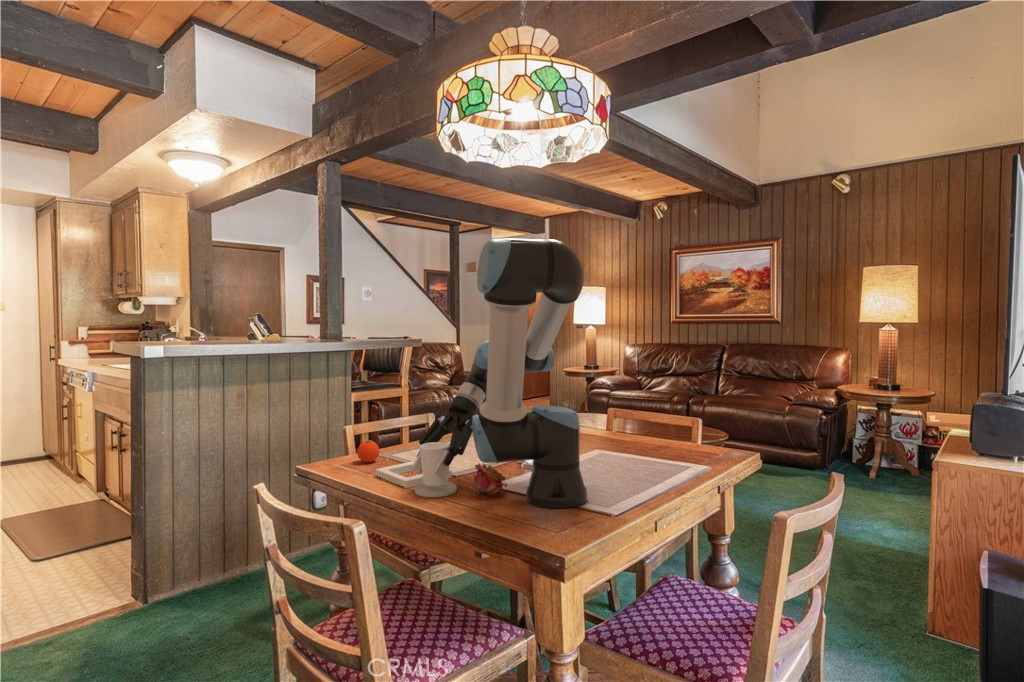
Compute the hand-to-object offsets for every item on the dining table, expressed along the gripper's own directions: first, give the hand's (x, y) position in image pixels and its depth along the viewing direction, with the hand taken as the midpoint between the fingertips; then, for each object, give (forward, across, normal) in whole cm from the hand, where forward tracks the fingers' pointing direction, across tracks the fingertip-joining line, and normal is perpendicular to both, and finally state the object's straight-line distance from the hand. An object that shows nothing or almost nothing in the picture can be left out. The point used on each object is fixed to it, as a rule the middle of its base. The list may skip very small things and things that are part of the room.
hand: (425, 472), depth 144 cm
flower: (-3, -14, -11) cm, 18 cm away
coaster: (+2, 0, -6) cm, 7 cm away
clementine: (-4, +40, -13) cm, 42 cm away
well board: (-2, +15, -10) cm, 19 cm away
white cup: (0, 0, -5) cm, 5 cm away
